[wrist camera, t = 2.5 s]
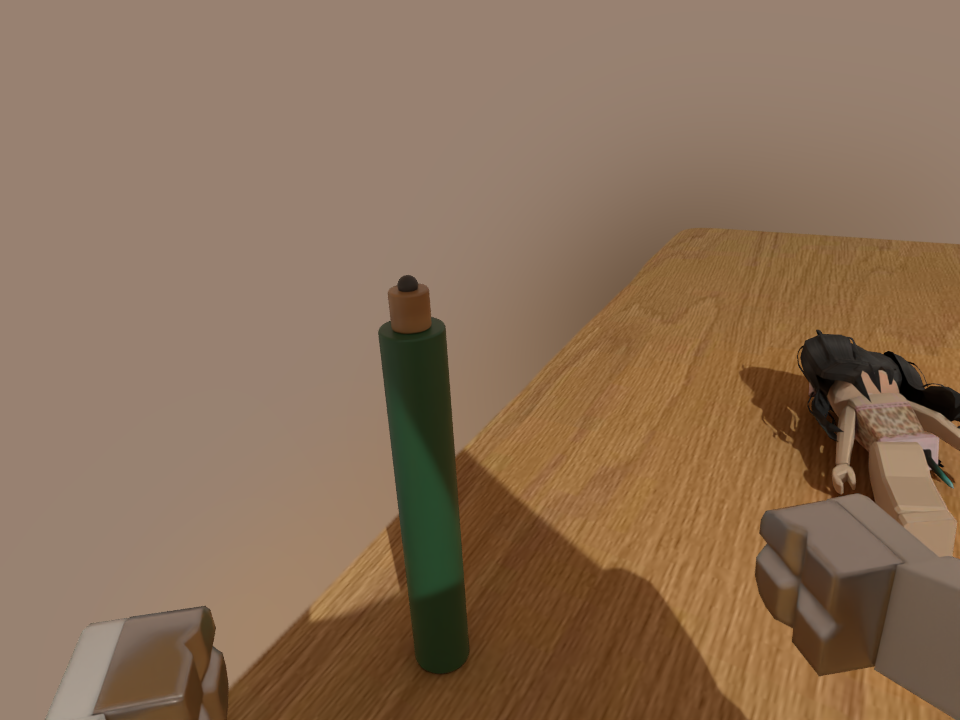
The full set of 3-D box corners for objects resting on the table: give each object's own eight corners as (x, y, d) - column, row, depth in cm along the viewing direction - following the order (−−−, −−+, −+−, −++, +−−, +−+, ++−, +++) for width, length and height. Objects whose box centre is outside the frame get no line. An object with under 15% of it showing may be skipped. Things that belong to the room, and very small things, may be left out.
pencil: (417, 678, 26) (373, 290, 20) (413, 637, 28) (371, 269, 22) (473, 669, 26) (445, 283, 20) (465, 628, 28) (437, 262, 22)
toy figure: (1061, 578, 30) (903, 392, 43) (1090, 449, 27) (912, 293, 40) (871, 590, 31) (774, 405, 44) (880, 467, 28) (774, 309, 41)
